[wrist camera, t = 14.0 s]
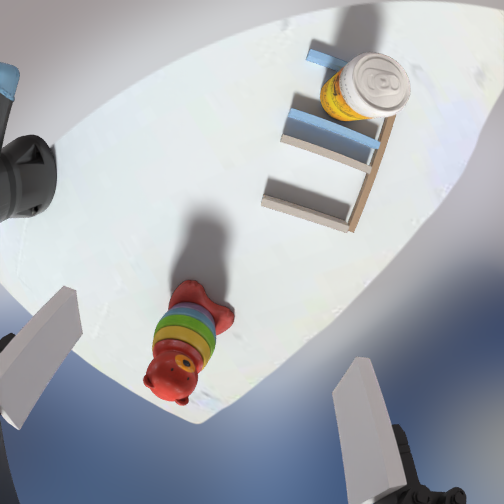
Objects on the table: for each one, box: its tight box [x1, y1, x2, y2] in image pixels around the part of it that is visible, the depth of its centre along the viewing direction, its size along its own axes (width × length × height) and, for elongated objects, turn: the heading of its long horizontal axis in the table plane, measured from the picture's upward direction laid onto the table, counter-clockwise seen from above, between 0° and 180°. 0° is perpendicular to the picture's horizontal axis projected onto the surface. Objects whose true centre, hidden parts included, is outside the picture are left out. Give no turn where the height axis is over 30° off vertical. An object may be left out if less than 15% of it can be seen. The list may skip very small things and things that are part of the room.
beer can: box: [320, 52, 410, 121], centre depth 25 cm, size 6×6×15 cm
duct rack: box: [261, 49, 396, 233], centre depth 33 cm, size 14×22×2 cm, turn 164°
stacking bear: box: [143, 280, 234, 406], centre depth 38 cm, size 11×10×18 cm
